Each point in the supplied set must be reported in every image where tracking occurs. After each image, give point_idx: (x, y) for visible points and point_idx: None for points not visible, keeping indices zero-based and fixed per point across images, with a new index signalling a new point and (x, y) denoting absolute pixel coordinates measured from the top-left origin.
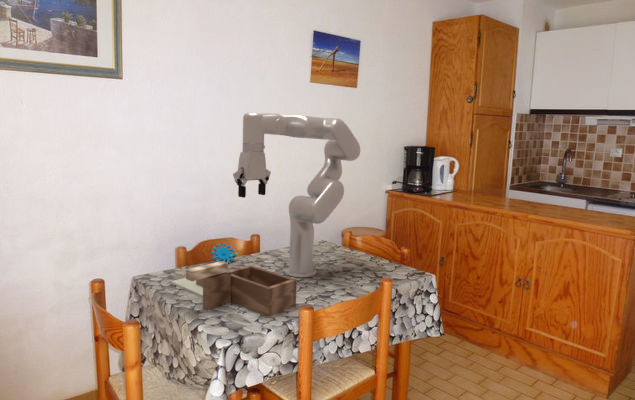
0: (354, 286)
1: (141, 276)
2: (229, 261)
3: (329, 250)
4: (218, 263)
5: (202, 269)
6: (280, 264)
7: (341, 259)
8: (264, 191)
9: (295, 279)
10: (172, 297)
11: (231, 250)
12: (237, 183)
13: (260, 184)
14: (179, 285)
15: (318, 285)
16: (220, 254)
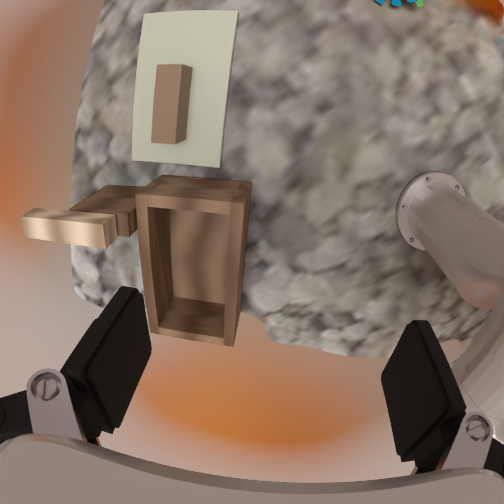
0: (399, 334)
1: None
2: (382, 1)
3: None
4: (85, 234)
5: (44, 239)
6: (464, 129)
7: None
8: (389, 404)
9: (232, 344)
10: (96, 96)
11: None
12: (24, 401)
13: (424, 429)
14: (139, 49)
15: (373, 286)
16: None
